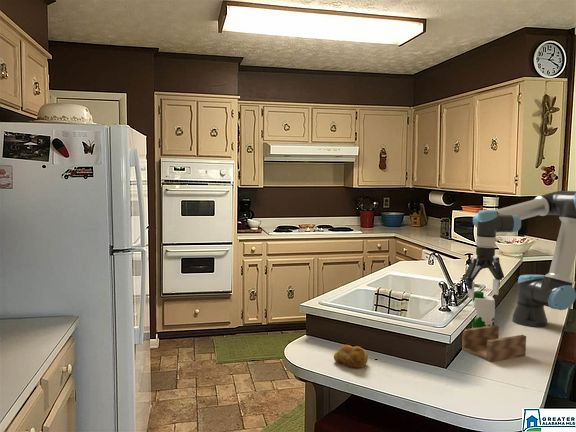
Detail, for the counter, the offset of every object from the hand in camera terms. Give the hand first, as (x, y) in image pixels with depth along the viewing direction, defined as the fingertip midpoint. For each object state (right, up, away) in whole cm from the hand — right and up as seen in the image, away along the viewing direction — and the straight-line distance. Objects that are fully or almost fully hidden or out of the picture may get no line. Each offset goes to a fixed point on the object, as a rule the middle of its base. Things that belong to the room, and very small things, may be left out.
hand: (483, 295), depth 214 cm
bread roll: (-61, -21, -29) cm, 70 cm away
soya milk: (0, -19, +2) cm, 19 cm away
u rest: (-2, -20, -16) cm, 26 cm away
